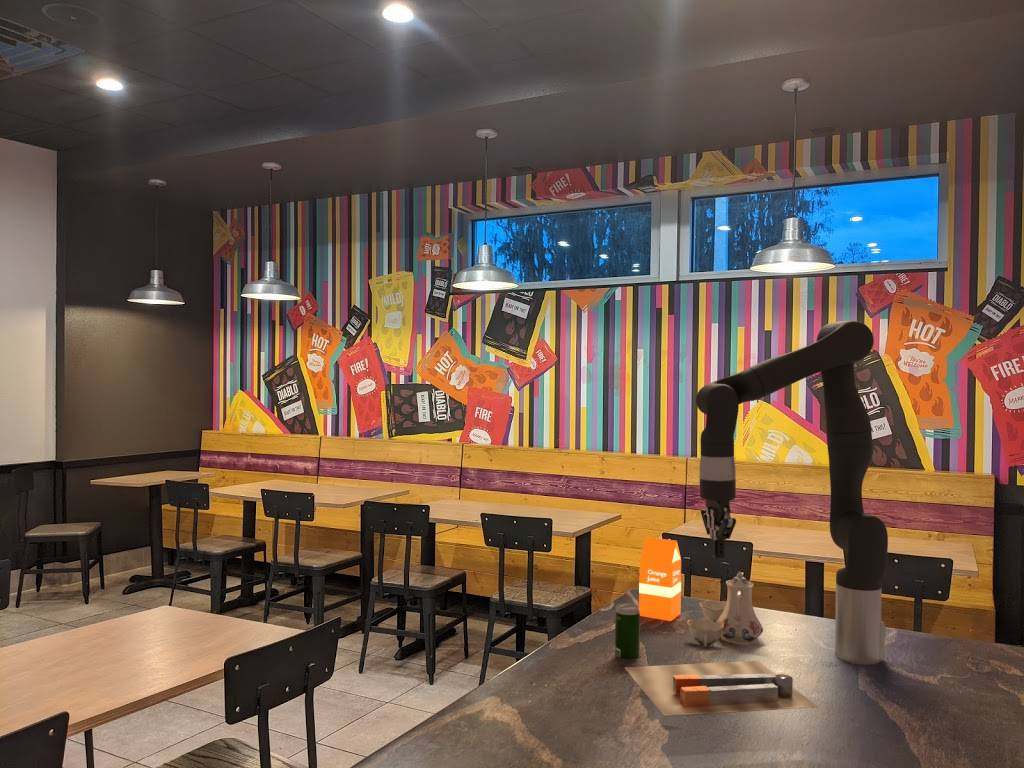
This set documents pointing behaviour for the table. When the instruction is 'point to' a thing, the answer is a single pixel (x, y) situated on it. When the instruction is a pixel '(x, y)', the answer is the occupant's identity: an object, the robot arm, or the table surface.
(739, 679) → the tong free arm
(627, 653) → the beer can
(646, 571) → the orange juice
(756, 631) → the chinaware
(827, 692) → the table surface
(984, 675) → the table surface
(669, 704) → the cutting board
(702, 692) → the tong fixed arm
